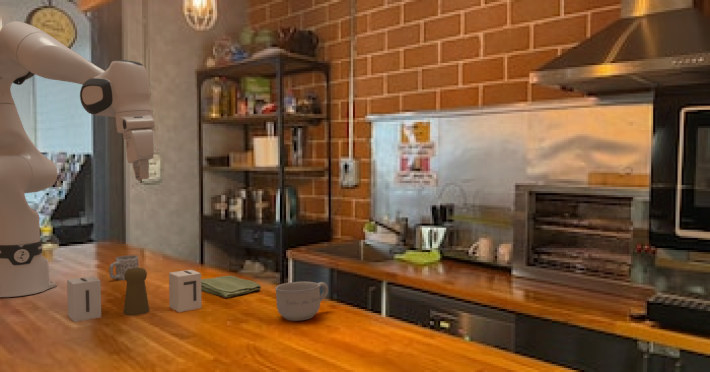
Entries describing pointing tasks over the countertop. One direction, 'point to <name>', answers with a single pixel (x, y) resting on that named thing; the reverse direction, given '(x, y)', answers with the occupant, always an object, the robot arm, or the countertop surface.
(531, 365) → the countertop surface
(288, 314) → the teacup
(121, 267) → the mug
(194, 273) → the cream marked block
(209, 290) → the washcloth
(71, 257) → the countertop surface
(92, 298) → the grey marked block
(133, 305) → the dark brown tapered piece
